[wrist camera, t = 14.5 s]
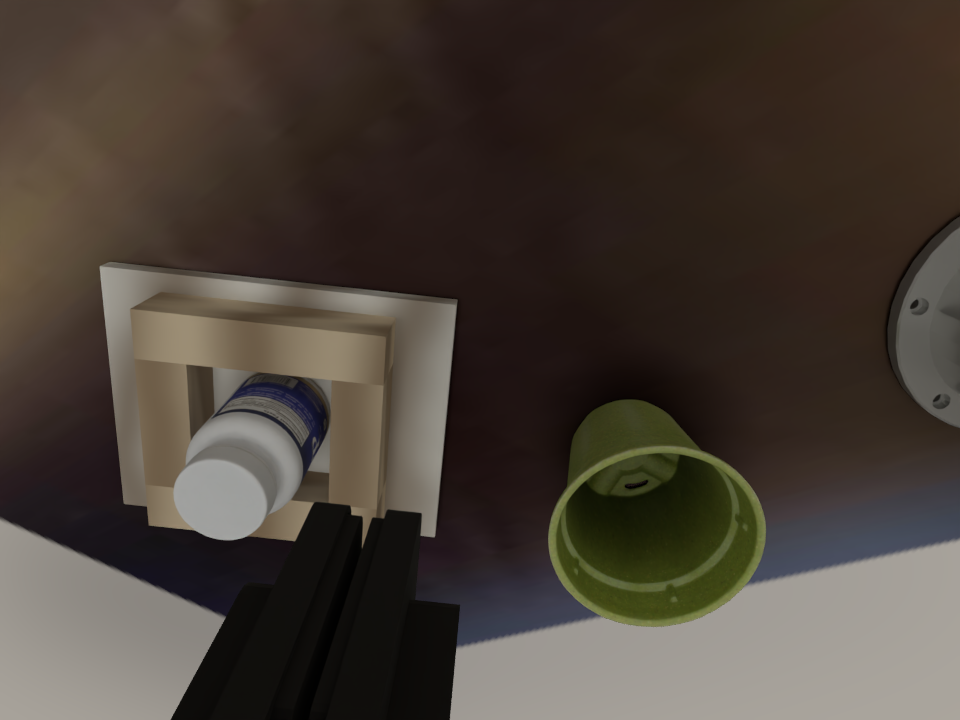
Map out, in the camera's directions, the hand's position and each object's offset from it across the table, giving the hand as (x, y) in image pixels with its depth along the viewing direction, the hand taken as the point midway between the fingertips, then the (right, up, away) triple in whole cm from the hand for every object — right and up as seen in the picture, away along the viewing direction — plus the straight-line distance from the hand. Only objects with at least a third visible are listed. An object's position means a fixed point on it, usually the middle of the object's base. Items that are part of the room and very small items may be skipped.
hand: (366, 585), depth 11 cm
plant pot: (+10, -1, +27) cm, 29 cm away
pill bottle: (-9, +1, +26) cm, 28 cm away
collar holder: (-9, +1, +27) cm, 28 cm away
